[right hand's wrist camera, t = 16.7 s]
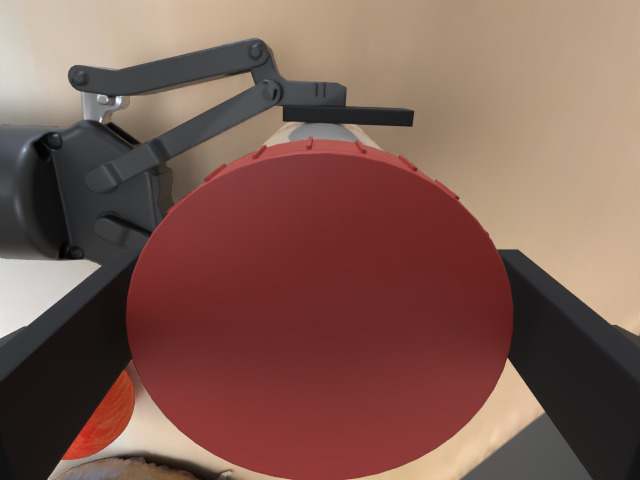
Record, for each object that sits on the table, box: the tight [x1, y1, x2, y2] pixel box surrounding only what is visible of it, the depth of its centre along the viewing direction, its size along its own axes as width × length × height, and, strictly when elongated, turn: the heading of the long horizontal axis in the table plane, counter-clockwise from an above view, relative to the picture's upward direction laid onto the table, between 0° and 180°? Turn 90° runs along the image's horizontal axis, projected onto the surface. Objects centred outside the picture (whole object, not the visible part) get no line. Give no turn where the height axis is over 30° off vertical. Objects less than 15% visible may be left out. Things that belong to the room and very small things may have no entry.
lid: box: [126, 136, 513, 480], centre depth 11 cm, size 10×10×2 cm
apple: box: [61, 370, 135, 460], centre depth 31 cm, size 8×8×8 cm
